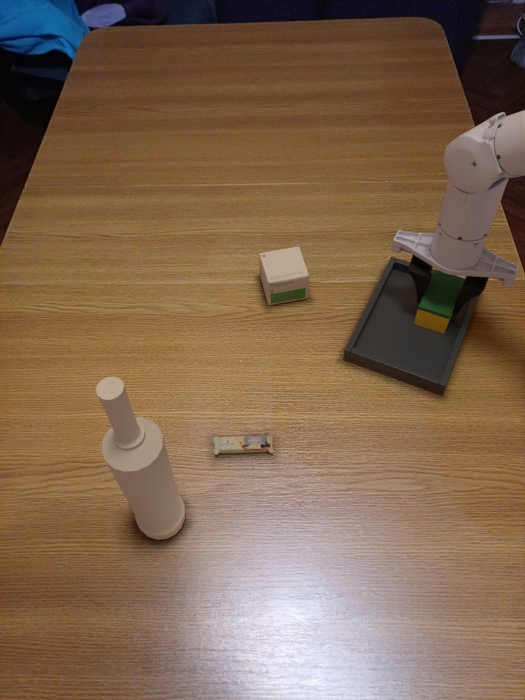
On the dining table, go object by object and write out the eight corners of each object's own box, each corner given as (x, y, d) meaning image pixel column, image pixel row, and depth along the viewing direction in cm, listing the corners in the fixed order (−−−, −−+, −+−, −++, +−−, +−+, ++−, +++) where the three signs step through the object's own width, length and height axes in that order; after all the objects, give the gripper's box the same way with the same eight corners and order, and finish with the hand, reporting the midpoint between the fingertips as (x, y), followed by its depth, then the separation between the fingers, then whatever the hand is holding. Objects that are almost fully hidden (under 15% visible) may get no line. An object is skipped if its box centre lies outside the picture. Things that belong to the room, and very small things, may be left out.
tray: (479, 295, 82) (483, 284, 81) (442, 395, 73) (445, 386, 71) (389, 266, 86) (391, 256, 84) (342, 359, 77) (344, 349, 75)
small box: (267, 307, 82) (267, 282, 78) (259, 276, 85) (257, 251, 81) (309, 300, 83) (310, 274, 79) (298, 269, 86) (299, 244, 82)
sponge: (444, 334, 78) (450, 316, 75) (413, 324, 79) (418, 306, 76) (458, 296, 82) (465, 278, 79) (429, 287, 83) (434, 269, 80)
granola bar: (213, 457, 69) (212, 452, 68) (213, 438, 70) (213, 434, 69) (273, 455, 69) (273, 450, 68) (272, 436, 70) (272, 432, 69)
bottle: (141, 548, 63) (77, 426, 43) (134, 501, 66) (71, 368, 46) (191, 534, 64) (150, 408, 44) (181, 489, 67) (139, 352, 47)
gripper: (537, 219, 69) (502, 300, 80) (412, 185, 73) (395, 266, 84) (524, 260, 65) (489, 339, 76) (392, 222, 69) (377, 302, 80)
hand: (439, 303), depth 79 cm, fingers closed on sponge, 4 cm apart
